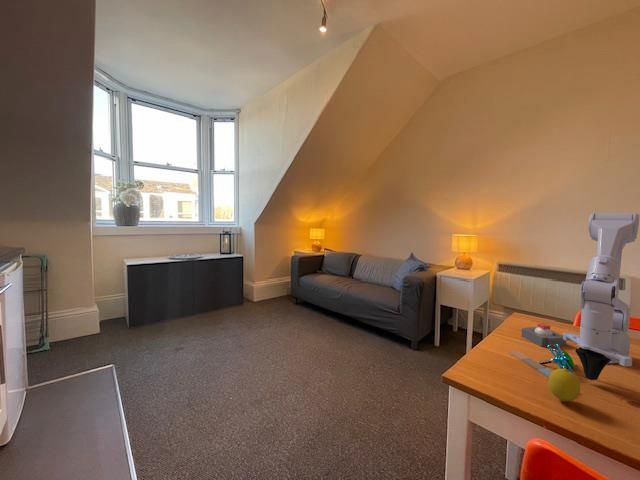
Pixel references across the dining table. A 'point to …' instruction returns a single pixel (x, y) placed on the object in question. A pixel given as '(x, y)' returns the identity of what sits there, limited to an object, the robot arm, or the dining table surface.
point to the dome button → (543, 329)
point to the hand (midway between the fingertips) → (591, 378)
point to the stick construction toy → (560, 359)
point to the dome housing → (543, 338)
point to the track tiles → (531, 363)
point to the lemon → (564, 385)
